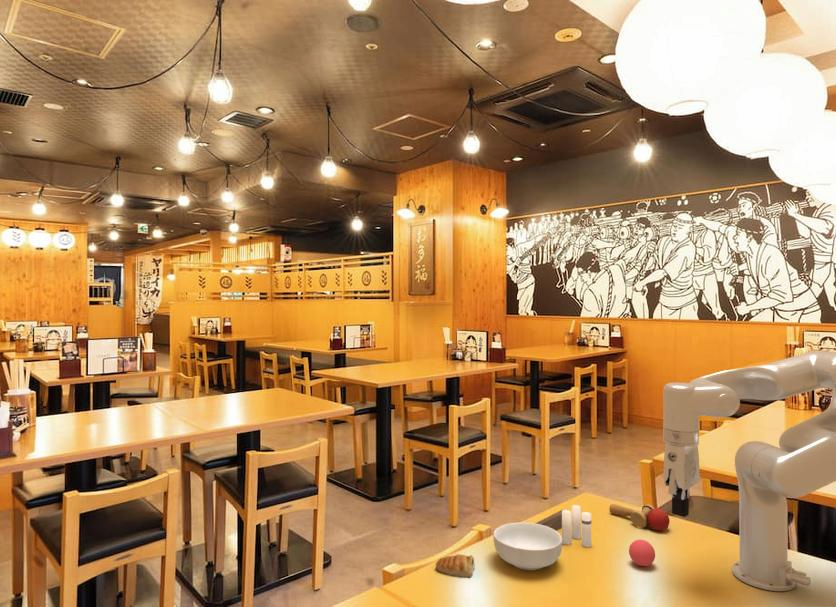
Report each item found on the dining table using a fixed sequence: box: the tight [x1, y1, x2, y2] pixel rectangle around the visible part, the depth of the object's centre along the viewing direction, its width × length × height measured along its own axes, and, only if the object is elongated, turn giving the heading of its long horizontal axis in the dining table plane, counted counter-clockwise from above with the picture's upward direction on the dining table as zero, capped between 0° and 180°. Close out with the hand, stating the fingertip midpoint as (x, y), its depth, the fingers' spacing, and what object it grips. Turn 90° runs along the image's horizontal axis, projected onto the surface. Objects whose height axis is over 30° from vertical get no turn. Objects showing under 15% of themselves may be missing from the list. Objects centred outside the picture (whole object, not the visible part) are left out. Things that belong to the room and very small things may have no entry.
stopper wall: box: [535, 509, 563, 532], centre depth 153 cm, size 2×16×4 cm, turn 133°
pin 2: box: [571, 504, 582, 540], centre depth 150 cm, size 2×2×8 cm
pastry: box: [435, 553, 476, 578], centre depth 133 cm, size 9×7×4 cm
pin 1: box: [561, 509, 572, 546], centre depth 147 cm, size 2×2×8 cm
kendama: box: [608, 503, 671, 532], centre depth 159 cm, size 8×6×18 cm
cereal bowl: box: [493, 521, 563, 571], centre depth 136 cm, size 17×17×7 cm
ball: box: [628, 539, 656, 567], centre depth 134 cm, size 6×6×6 cm
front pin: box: [581, 511, 592, 548], centre depth 145 cm, size 2×2×8 cm
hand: (680, 514), depth 127 cm, fingers closed
